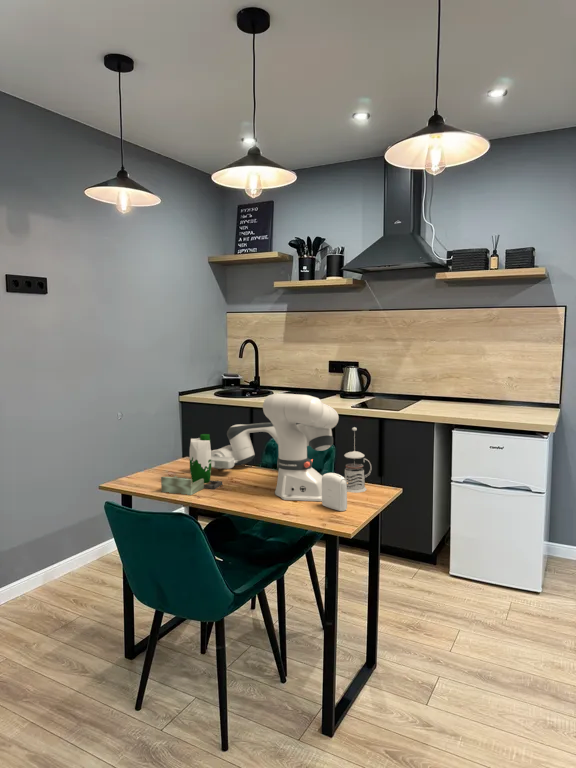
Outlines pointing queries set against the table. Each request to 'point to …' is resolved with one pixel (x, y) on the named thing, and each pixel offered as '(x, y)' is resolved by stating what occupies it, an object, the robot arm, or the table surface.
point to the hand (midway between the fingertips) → (204, 465)
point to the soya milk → (200, 458)
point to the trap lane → (186, 485)
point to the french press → (355, 485)
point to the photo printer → (334, 491)
